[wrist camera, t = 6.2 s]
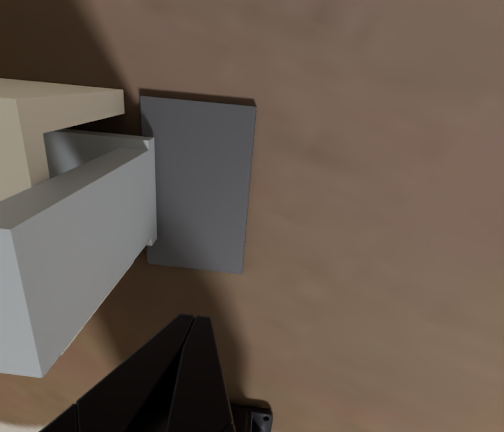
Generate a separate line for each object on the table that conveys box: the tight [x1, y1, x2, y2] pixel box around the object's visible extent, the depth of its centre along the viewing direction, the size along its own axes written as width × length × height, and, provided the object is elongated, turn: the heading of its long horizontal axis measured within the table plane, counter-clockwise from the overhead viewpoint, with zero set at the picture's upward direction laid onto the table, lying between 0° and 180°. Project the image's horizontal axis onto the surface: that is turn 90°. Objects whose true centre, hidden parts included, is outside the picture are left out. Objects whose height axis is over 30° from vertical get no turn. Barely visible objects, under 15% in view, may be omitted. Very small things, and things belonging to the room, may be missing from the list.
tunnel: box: [0, 78, 256, 355], centre depth 16 cm, size 10×15×8 cm
